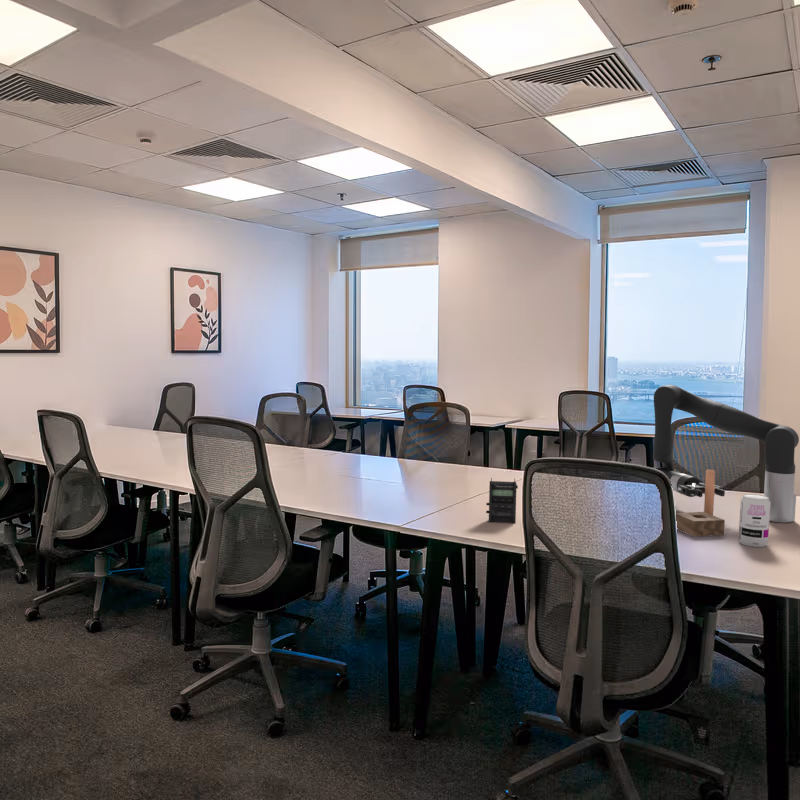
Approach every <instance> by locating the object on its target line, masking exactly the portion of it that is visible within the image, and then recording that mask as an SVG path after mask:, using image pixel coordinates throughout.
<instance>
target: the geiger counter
mask: <svg viewBox="0 0 800 800" xmlns="http://www.w3.org/2000/svg"><path fill="white" fill-rule="evenodd" d="M492 479H493V478H492V477H490V481H489V489H488V491H489V492H488V493H489V495H488V496H489V497H488V498H489V499H488V502H486V505H485V506H488V510H486V511H485V514H488V523H501V524H502V523H503V524H516V521H517V519H516V518H517V512H516V511H517V489H519V487H518V486H519V485H518V484H517V482H516V478H514V481H500V480H498V481H497V480H496V481H495V480H492Z"/></svg>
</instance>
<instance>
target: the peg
mask: <svg viewBox="0 0 800 800" xmlns="http://www.w3.org/2000/svg"><path fill="white" fill-rule="evenodd" d="M704 484H705V494H704V503H703V512H705V513H708V514H710V515H713V516H714V508H715V507H714V506H715V494H714V489H715V485H716V470H715V469H705V482H704Z"/></svg>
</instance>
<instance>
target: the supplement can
mask: <svg viewBox="0 0 800 800" xmlns="http://www.w3.org/2000/svg"><path fill="white" fill-rule="evenodd" d="M769 517H770V501H769V499H768V497H767V496H764V494H763V495H762V494H754V493H746V494H745V493H744V494H743V495H742V497H741V499H740V504H739V522H738V524H739V526H738V541H739V542H740V544H741V545H744V546H746V545H747V546H746V547H751V546H753V547H752V548H764V547H763V546H765V547H766V546H767V545H769V531H770V521H769Z"/></svg>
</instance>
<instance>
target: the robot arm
mask: <svg viewBox="0 0 800 800" xmlns="http://www.w3.org/2000/svg"><path fill="white" fill-rule="evenodd" d="M653 408H654V437H653V438H654V440H653V447H652V448H653V451H652V459H653V460H654V461H655V462H658V463H661V464H662V467H660V466H659V467H656V466H655V467H653V468H656V469H658V470H661V471H663V472H664V473H665V474H666V475H667V476H668V477H669V479H670V481H671V484H672V488H673V490H672V491H675V492H676V493H678V494H680V495H684V496H686V497H689V498H693V497H694V498H695V497H698V498H702V497H703V495H705V482H702V481H700V479H699V478H698V477H696V476H693V475H690V474H686V473H681V472H677V471H675V467H674V462H673V451H674V450H673V448H674V436H673V430H672V417H673V412H674V409H675V410H679V411H682V412H684V413H688V414H691V415H692V416H695V417H696V418H698V419H699V420H701V422H703V423H705V424H707V425H708V426H711V427H712V428H716V429H718V430H721V431H724V432H727V433H731V434H734V435H740V436H744V437H749V438H753V439H756V440H759V441H760V442H763V443H764V466H765V469H764V471H765V472H764V487H763V488H764V490H763V496H767V497H768V499H769V501H770V517H769V522H774V523H782V524H783V523H785V524H787V523H791V522H795V521H796V504H797V494H796V493H795V478H796V477H795V476H796V464H795V451H796V449H795V448H797V446H798V444H799V441H800V439H799V434H798V433H797V431H795V429H793V428H791V427H790V426H787V425H783V424H778V423H775V422H771V421H768V420H764V419H762V418H758V417H756V416H755V415H752V414H751V413H748V412H745V411H743V410H741V409H738V408H735V407H734V406H730V405H728V404H726V403H722V402H718V401H716V400H712V399H708V398H705V397H702V396H698V395H696V394H694V393H691V392H690V391H687V390H686V389H683V388H681V387H679V386H677V385H674V384H666V385H662V386H659V387H658V388H657V389H655V391H654V393H653ZM725 492H726V491H725V489H723V487H722V486H720V485H716V484H715V489H714V495H717V496H719V497H725V496H726V495H725V494H726V493H725Z"/></svg>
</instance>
